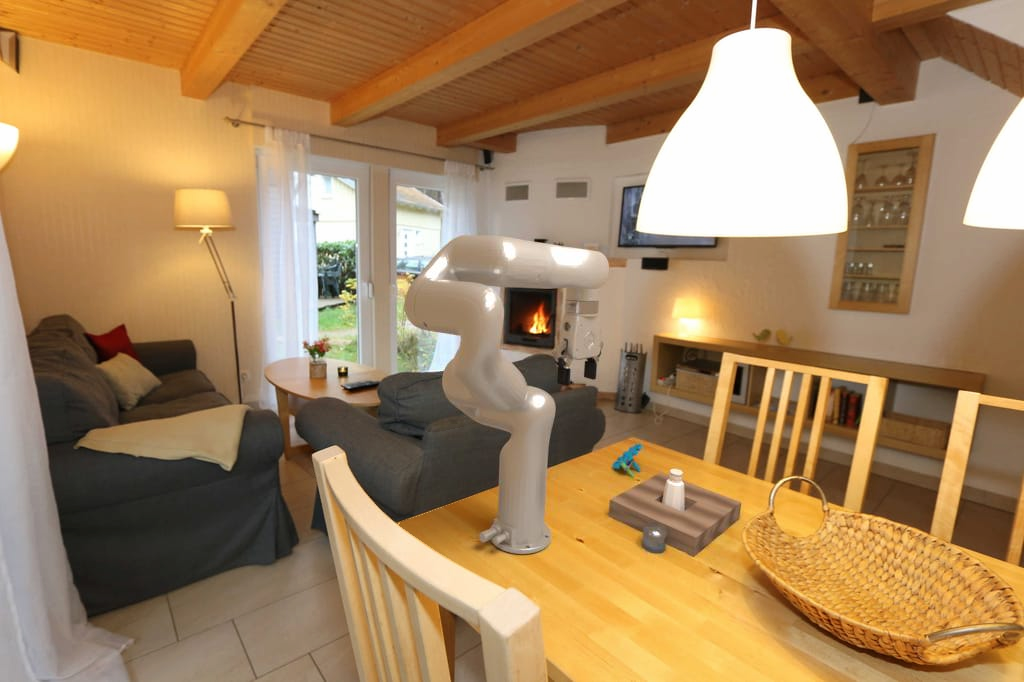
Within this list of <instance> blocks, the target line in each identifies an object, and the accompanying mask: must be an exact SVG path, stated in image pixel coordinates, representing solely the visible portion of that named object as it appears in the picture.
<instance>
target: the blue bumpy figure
mask: <svg viewBox="0 0 1024 682" xmlns="http://www.w3.org/2000/svg"><path fill="white" fill-rule="evenodd" d="M642 449H643V445H642V443H640V442H639V443H636V444H634V446H633V445H632V446H630V447H629V448H628V449H627V450H625V451H623V452H622V456H618V457H617V458H616V460H615V461H614V462H613V463H612V468H613V469H614V470H616V469H617V470H619V469H620V468H621V467H622V469H623V470H624V472H627V473H628V474H629V476H630V477H632V478H635V475H634V473H633V472H632V470H630V468H631V466H633V468H634V469H635V470H636V471H637V472H640V471H641V470H642V469H641V467H640V466H639V464H637V463H636V461H635V459H634V457H635V456H638V455H639V453H640V451H641V450H642Z"/></svg>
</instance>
